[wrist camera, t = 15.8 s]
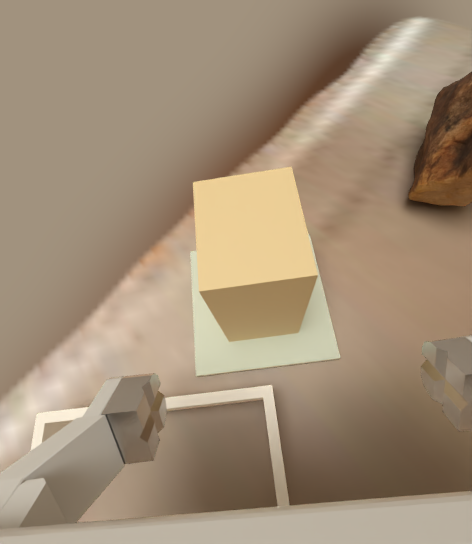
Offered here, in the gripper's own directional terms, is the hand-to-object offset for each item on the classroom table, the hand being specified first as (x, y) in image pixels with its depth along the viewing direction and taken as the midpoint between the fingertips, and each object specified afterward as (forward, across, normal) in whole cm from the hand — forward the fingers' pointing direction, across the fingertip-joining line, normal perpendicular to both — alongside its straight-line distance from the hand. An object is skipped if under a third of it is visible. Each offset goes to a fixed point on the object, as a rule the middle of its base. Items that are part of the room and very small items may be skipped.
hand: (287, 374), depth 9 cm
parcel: (+13, +1, +3) cm, 14 cm away
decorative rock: (+20, -17, -2) cm, 26 cm away
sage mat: (+13, +1, +4) cm, 14 cm away
